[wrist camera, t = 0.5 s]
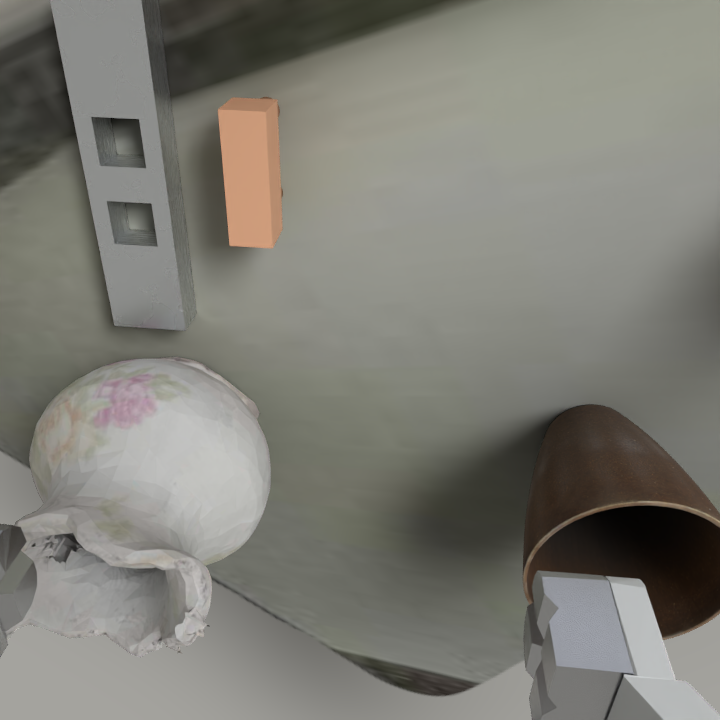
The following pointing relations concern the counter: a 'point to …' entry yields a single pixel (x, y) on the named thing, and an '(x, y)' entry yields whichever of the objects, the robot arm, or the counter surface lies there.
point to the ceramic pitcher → (141, 500)
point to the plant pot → (623, 517)
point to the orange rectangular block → (251, 171)
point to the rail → (128, 172)
